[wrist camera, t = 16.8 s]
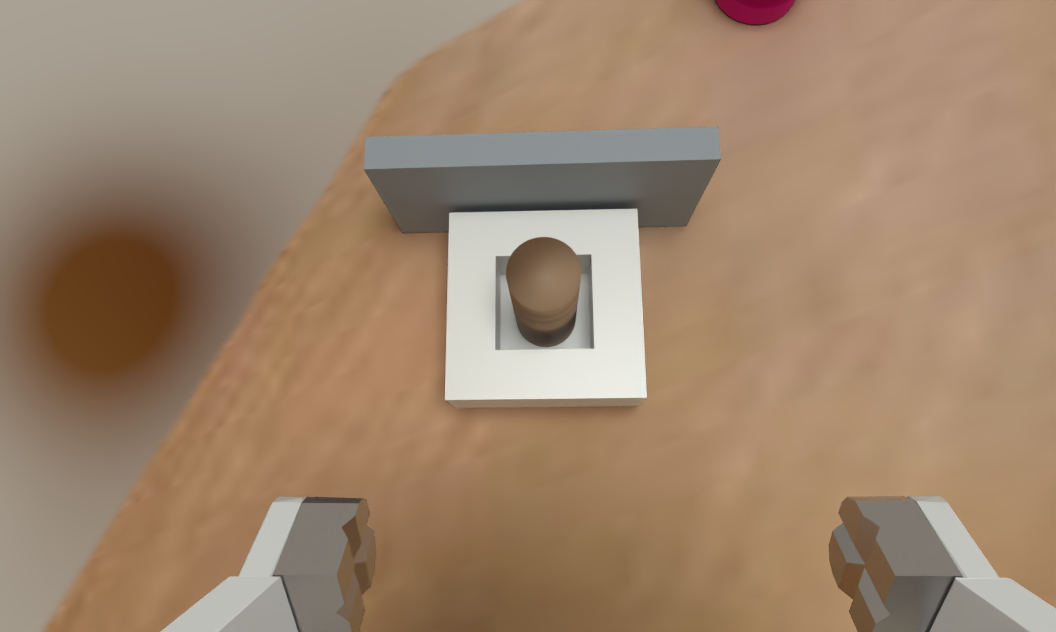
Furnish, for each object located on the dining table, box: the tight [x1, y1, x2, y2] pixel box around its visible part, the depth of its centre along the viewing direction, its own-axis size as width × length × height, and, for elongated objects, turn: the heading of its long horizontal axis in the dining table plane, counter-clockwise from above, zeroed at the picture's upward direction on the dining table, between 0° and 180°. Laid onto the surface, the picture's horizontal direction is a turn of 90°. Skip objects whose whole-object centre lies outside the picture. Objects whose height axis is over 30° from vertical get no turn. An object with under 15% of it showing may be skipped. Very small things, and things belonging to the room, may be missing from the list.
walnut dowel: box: [506, 237, 581, 347], centre depth 40 cm, size 4×4×10 cm
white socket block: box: [445, 209, 647, 408], centre depth 44 cm, size 12×12×5 cm
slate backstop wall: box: [364, 127, 721, 233], centre depth 42 cm, size 2×20×10 cm, turn 91°
